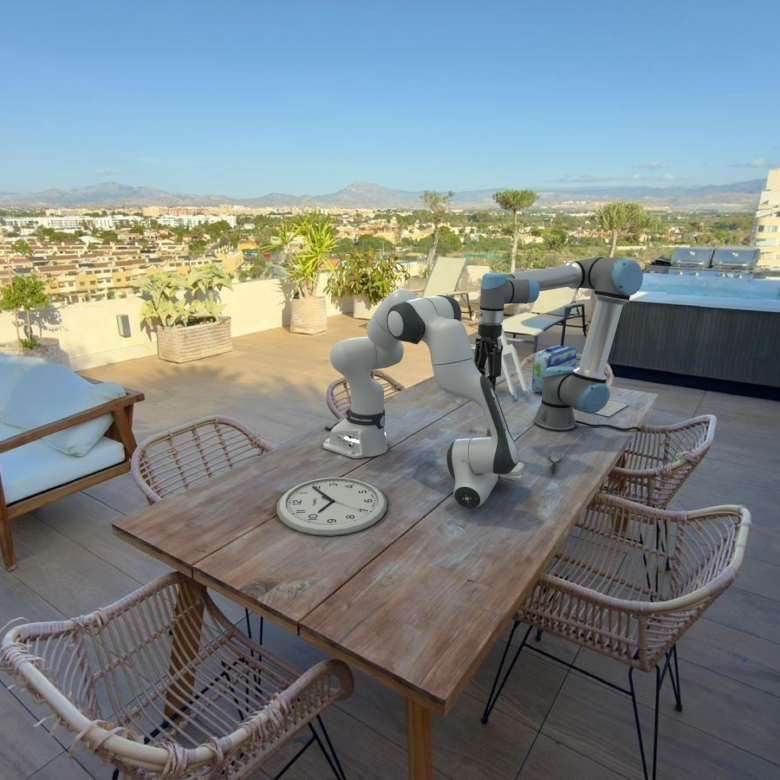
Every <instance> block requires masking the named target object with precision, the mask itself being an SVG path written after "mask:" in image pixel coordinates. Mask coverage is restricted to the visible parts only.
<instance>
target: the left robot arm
mask: <svg viewBox="0 0 780 780" xmlns="http://www.w3.org/2000/svg"><path fill="white" fill-rule="evenodd" d="M461 321H462V308H461V305H460V303H459V302H458V300H457V299H455V297H453V296H449V295H444V294H437V295H434V296H433V295H431V296H423V297H419V298H418V296H417V295H416V294H415V293H414V292H413V291H412V290H410V289H408V288H405V287H404V288H403V287H402V288H396V289H394V290H393V291H391V292H390V293H389V294H388V295H387V296H386V297H385V298H384V299H383V300H382V301H381V303H380V304H379V305H378V306H377V308H376V310H375V311H374V313H373V314H372V316H371V317H370V319H369V320H368V322H367V324H366V335H367V336H366V335H365V336H361V337H359V336H358V337H350V338H345V339H343V340H340V341H338V342H335V343H333V345H332V347H331V349H330V351H329V352H330V353H329V360H330V363H331V366H332V367H333V368H334V370H335V371H337V372H338V373H340V375H342V376H343V377H344V379H345V380H346V382H347V384H348V387H349V394H350V407H349V408H347V409H346V410H345V411H344V412H343V416H346V417H345V418H344V419H343V420H340V421H338V420H337V421H336V423H334V424H333V425H332V426H331V427H328V426H326V425H325V427H324V428H325V430H327V431H330V433H329V437H328V438H326V439H325V440H324V442H323V444H322V448H323V449H325V450H328V451H331V452H334V453H336V454H340V455H342V456H345V457H349V458H352V459H357V460H358V459H362V458H367V457H369V458H370V457H377V456H380V455H383V454H385V453H386V452H387V451H388V450H389V446H388V442H387V438H386V435H387V434H386V432H385V426H386V409H385V389H384V387H383V385H382V384H381V383H380V382H379V381H377V380H375V379H373V378H372V377H371V371H375V370H379V369H387V368H390V367H392V366H395V365H397V364H399V363H401V361H402V360H403V358H404V353H405V352H404V351H405V349H404V345H403V343H402V342H405V343H410V344H413V345H418V344H419V343H420V342H421V341H422V342H423V343H424V344H426V345H427V347H428V350H429V356H430V361H431V367H432V373H433V377H434V380H435V382H436V385H438V386H439V388H440V389H441V390H442V391H444V392H446V393H448V394H449V395H451V396H456V397H460V398H463V399H467V400H470V401H472V402H474V403H476V404H477V405H478V406H479V407H480V408H481V410H482V412H483V416H484V417H485V421H486V424H487V428H488V427H489V429H490V432H491V435H492V436H491V437H487V436H481V437H480V436H478V437H463V438H456V439H454V440H453V442H452V443H451V444H450V446H449V447H448V450H447V453H446V463H447V464H446V465H447V469H448V471H449V474H450V475H451V477H452V478H453V480H454V488H453V498H454V500H455V502H456V503H457V504H458V505H459V506H461V507H463V508H464V509H465V508H466V509H477V508H479V507H480V506H482V505H484V503H485V502H486V500H487V499H488V498H489V496H490V494H491V492H492V490H493V489H494V488H495V486H496V484H497V482H498V481H499V480H500V481H505V482H510V483H516V482H518V481H521V479H522V477H523V476H524V473H525V464H524V463H523V462H521V461H519V450H518V447H517V444H516V442H515V440H514V438H513V435H512V433H511V432H510V429H509V426H508V424H507V420H506V418H505V415H504V412H503V409H502V406H501V403H500V401H499V398H498V395H497V393H496V389H495V390H494V388H493V385H492V383H491V381H490V380H489V378H488V377H487V376H483V375H482V374H481V373H480V372H479V370H478V369H477V367H476V365H475V362H474V359H473V353H472V348H471V347H472V344H471V341H470V338H469V335H468V331H467V330H466V327H465V325H464V323H463V322H461Z"/></svg>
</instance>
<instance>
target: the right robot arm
mask: <svg viewBox="0 0 780 780" xmlns="http://www.w3.org/2000/svg"><path fill="white" fill-rule="evenodd" d="M643 282H644V273H643V269H642V268H641V265H640V264H639V263H638V262H637V261H636V260H633V259H630V258H626V257H625V258H623V257H608V256H607V257H606V256H595V257H590V258H584V259H579V260H574V261H569V262H568V263H566V265H561V266H554V267H548V268H540V269H534V270H527V271H520V272H515V273H509V274H508V273H507V274H506V273H500V272H485V273H483V274H482V277H481V282H480V283H481V284H480V295H479V296H480V297H479V312H478V322H479V323H478V324H477V335H478V336H480V337H476V338H475V346H476V347H475V356H474V362H475V365H476V367H477V369H478V370H479V372H480V373H481V374H482V375H483V376H485V371H483V370H486V368H484V367H485V363H486V360H487V357H488V367H489V374H488V375H486V376H485V377H488V378H489V380H490V381H491V383H492V385H493V388H494V390H495V391H496V387H497V378H500V377H501V376H502V363H501V361H502V351H503V345H500V344H499V339H498V338H500V336H501V335H502V327H503V325H502V324H503V322H504V312H505V305H507V304H509V305H510V304H511V305H513V304H514V305H515V304H518V305H519V304H525V305H526V304H533V303H535V302H536V301H537V300H538V299H539V296H540V292H545V291H546V292H547V291H550V290H557V289H558V290H559V289H564V288H568V289H572V290H574V289H575V290H576V289H587V290H594V292H593V297H594V298H595V300H596V304H595V306H594V309H593V314H592V317H591V321H590V325H589V328H588V332H587V336H586V339H585V343H584V347H583V350H582V354H581V358H580V361H579V365H578V367H577V368H576V367H575V368H574V367H566V366H556V367H549V368H547V369H546V370H545V374H544V380H543V391H542V393H541V402H540V405H539V407H538V410H537V411H536V413H535V417H534V424H535V425H536V426H537V427H539V428H542V429H544V430H549V431H556V432H567V431H572V430H574V429H575V428H576V424H578V425H579V424H580V425H583V426H587V427H591V428H600V427H601V428H611V429H614V430H617V431H623V432H625V431H631V430H637V432H642V429H641V428H640V427H638V426H630V427H620V426H615V425H612V424H605V423H601V424H595V423H594V424H593V423H588V422H584V421H580V420H578V419H576V418H575V417H576V416H575V413H574V409H575V410H577V411H579V412H583V413H585V414H589V415H590V414H591V415H593V414H596V412H598V411H599V410H600V409H602V408H603V407H604V406H605V405H606V404H607V402H608V400H610V395H611V392H610V388H609V387H608V385H606V383H607V380H608V378H607V376H606V374H605V370H606V366H607V363H608V359H609V356H610V353H611V349H612V346H613V341H614V338H615V334H616V331H617V328H618V324H619V320H620V317H621V313H622V310H623V307H624V305H626V304H628V303H629V302H630V299H631V296H634V295H636V294H637V293H638V292H639V291H640V290H641V288H642V286H643Z"/></svg>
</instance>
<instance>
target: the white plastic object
mask: <svg viewBox="0 0 780 780" xmlns="http://www.w3.org/2000/svg"><path fill="white" fill-rule="evenodd" d="M499 338H500V342H501V346H503V351H502V361H501V368H502V370H503V373H504V376H505V380H506V383H507V386H508V390H509V393H510V394H511V395H512V397H513V398H514V399H515V400H517V392H516V391H517V390H516V388H515V385H514V381H513V378H512V375H511V371H510V369H509V365H508V361H510V360H513V363H514V366H515V369H516V372H517V376H518V380H519V382H520V385H521V389H522V391H523V393H524V395H525V396H526V397H528V396H531V395H530V390H529V388H528V387H529V386H528V384H527V381H526V378H525V375H524V371H523V369H522V368H523V367H522V366H521V362H520V359H519V355H518V352H517V349H516V347H515V346H514V345H513V343H511V344H508V341H507V337H506V334H505V331H504V328H503V326H502V335H501V336H500V337H499ZM475 347H476V345H473V346H471V348H472V353H473V359H474V356H475ZM484 368H486V370H483V371H485V377H487V376H488V375H489V367H488V357H487V360H486V363H485V367H484Z"/></svg>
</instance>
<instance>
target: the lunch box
mask: <svg viewBox="0 0 780 780" xmlns="http://www.w3.org/2000/svg"><path fill="white" fill-rule="evenodd" d="M576 362H577V348H576V347H571V346H565V345H553V346H550V347H546V348H545V349H542V350H539V351H538V352H537V353H536V354H535V356H534V358H533V365H532V376H531V377H532V378H531V390H532V391H533V392H537V393H541V394H542V391H543V380H544V374H545V370H546V369H547V368H549V367H556V366H566V367H574V368H576V364H577V363H576Z"/></svg>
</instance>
